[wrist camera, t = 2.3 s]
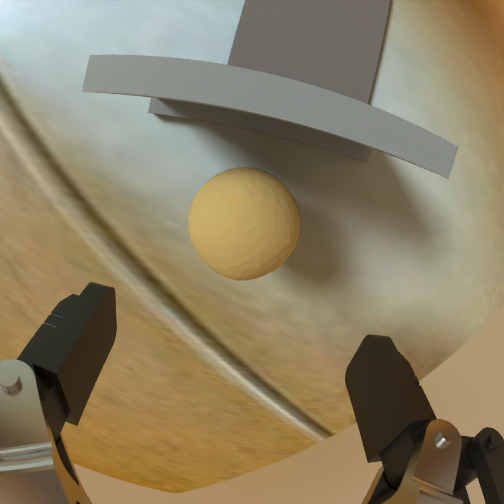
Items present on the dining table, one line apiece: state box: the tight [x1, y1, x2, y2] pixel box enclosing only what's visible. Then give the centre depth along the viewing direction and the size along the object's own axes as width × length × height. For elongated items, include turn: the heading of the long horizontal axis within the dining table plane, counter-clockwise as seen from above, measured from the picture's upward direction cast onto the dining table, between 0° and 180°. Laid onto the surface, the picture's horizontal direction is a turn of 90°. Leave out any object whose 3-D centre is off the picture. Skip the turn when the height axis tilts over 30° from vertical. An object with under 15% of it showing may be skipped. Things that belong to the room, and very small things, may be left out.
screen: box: [82, 55, 458, 179], centre depth 15 cm, size 4×17×12 cm, turn 77°
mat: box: [228, 0, 390, 104], centre depth 17 cm, size 11×11×1 cm
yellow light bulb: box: [188, 168, 300, 280], centre depth 19 cm, size 6×6×10 cm
